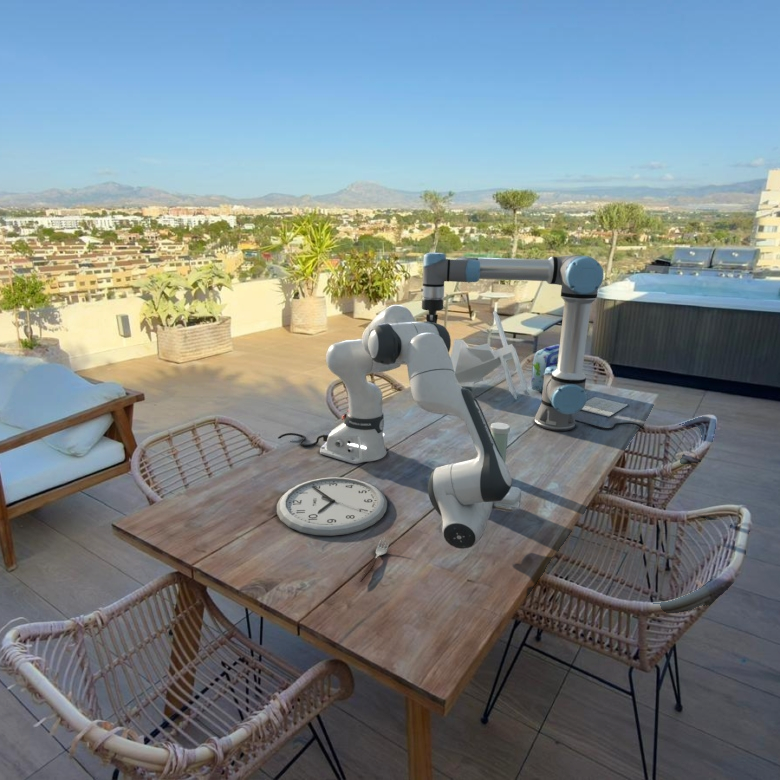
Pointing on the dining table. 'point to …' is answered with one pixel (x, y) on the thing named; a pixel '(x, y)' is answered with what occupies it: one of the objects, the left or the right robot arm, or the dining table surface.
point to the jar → (501, 443)
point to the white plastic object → (485, 361)
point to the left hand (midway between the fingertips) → (485, 479)
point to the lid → (500, 428)
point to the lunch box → (543, 365)
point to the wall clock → (331, 506)
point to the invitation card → (603, 406)
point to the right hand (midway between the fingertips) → (430, 357)
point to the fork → (379, 552)
